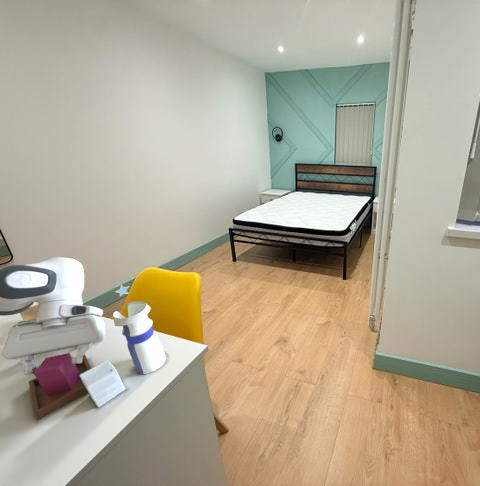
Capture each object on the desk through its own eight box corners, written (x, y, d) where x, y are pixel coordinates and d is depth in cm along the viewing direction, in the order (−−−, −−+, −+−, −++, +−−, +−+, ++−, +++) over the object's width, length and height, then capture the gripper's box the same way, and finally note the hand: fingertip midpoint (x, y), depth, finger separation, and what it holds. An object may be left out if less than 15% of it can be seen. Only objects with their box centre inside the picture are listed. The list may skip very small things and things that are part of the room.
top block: (47, 395, 67) (33, 373, 63) (58, 379, 71) (45, 357, 68) (71, 389, 68) (58, 367, 65) (80, 374, 72) (69, 352, 69)
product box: (117, 378, 72) (108, 358, 69) (126, 389, 68) (117, 369, 66) (89, 395, 67) (78, 374, 64) (97, 408, 64) (86, 387, 61)
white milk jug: (125, 371, 74) (93, 297, 64) (152, 349, 81) (127, 280, 71) (147, 379, 71) (117, 304, 61) (172, 355, 79) (150, 285, 69)
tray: (32, 386, 70) (28, 381, 69) (87, 359, 78) (84, 354, 77) (37, 419, 62) (33, 414, 61) (99, 385, 70) (96, 380, 69)
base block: (30, 330, 89) (22, 316, 87) (26, 325, 92) (18, 311, 90) (50, 322, 93) (42, 308, 91) (46, 317, 96) (38, 304, 93)
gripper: (0, 321, 66) (-11, 381, 61) (97, 305, 72) (94, 358, 67) (20, 324, 71) (12, 379, 67) (109, 309, 77) (107, 358, 73)
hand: (54, 368), depth 67 cm, fingers open, 8 cm apart
